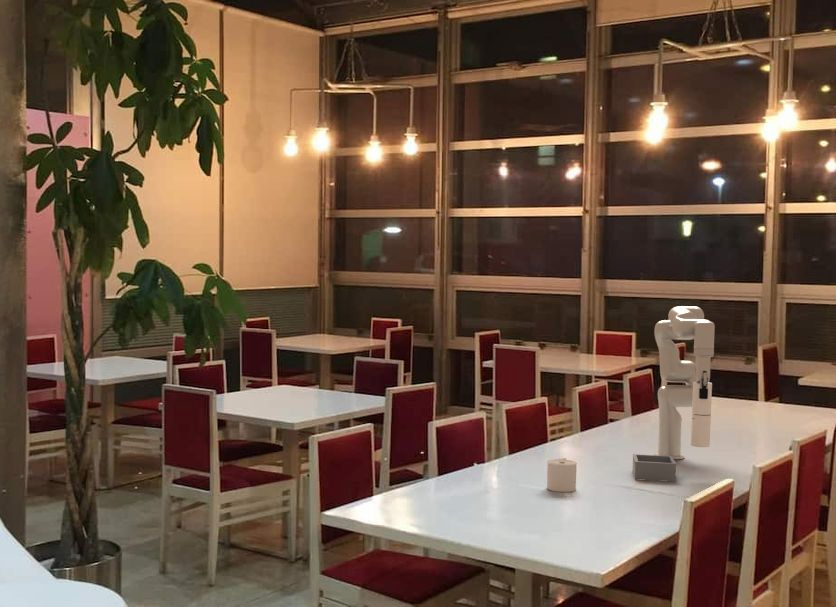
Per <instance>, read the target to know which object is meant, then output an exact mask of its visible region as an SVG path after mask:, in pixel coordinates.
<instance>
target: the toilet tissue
mask: <svg viewBox="0 0 836 607" xmlns="http://www.w3.org/2000/svg"><path fill="white" fill-rule="evenodd" d="M577 464H578V463H577V461H574V460H570V459H567V458H566V457H565V458H564V457H563V458H554V459H550V460H547V473H546V474H547V475H546V476H547V478H546V479H547V480H546V488H547V489H548V490H549V491H552V492H557V493H558V492H560V493H561V492H562V493H567V492H568V493H569V492H574V491H576V490H577Z"/></svg>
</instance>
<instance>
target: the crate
mask: <svg viewBox="0 0 836 607" xmlns="http://www.w3.org/2000/svg"><path fill="white" fill-rule="evenodd" d="M676 473H677V463H676V461H675V459H673V457H672V456H660V455H655V454H638V453H637V454H636V453H633V454H632V474H634V475H633V477H634V480H635V479H645V480H644V481H652V480H667V481H666V482H670V481H676V480H677V479H676Z"/></svg>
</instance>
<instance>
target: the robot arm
mask: <svg viewBox="0 0 836 607" xmlns="http://www.w3.org/2000/svg"><path fill="white" fill-rule="evenodd" d="M715 328H716V327H715V323H714V322H713V321H710V320H709V319H705V313H704V310H703V309H701V307H699V306H688V305H687V306H685V305H684V306H683V305H681V306H674V307H672V308H671V309H670V310H669V312H668V319H667V320H666V319H664V320H659V321H657V323H656V324H655V326H654V339H655V342H656V345H657V347H658V353H659V356H658V357H659V374H660V379H661V380H662V381H663V382H666V383H685V385H679V384H666V385H662V386H660V387H659V388H658V390H657V400H658V411H659V412H658V413H659V414H658V446H657V447H658V449H657V450H658V451H656V452H654V455H660V456H672V457H673V459H674V460H682V459H685V454H684V453H681V446H682V421H683V420H682V415H681V414H680V412H679V411H678V409H677V408H692V401H693V382H699V381H700V388H699V398H700V399H708V382H710V379H711V358H713V357H714V354H715V332H716V331H715ZM673 340H676V341H677V340H682V341H683V340H684V341H686V340H687V341H690V340H694V341H693V342H694V343H693V356H694V357H695V360H694V361H691V360H681V359H680V349H679V347H678V345H676V343H674V341H673Z"/></svg>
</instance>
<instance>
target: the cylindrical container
mask: <svg viewBox="0 0 836 607" xmlns="http://www.w3.org/2000/svg"><path fill="white" fill-rule="evenodd" d="M699 388H700V381H699V382H693V401H692V407H691V408H692V409H691V432H690V433H691V434H690V445H691V447H696V448H709V447H710V446H711V445H710V444H711V422H712V420H711V417H712V391H713V383H712V382H710V381H709V382H708V399H700V398H699Z"/></svg>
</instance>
